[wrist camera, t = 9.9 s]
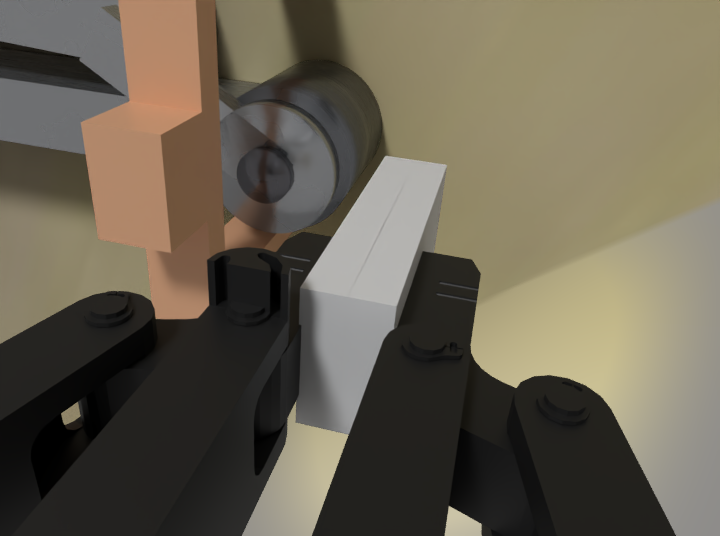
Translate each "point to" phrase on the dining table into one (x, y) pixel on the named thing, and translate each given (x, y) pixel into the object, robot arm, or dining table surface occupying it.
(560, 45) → the dining table surface
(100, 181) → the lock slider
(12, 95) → the ball-hinged grey bar
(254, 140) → the block
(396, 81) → the dining table surface
